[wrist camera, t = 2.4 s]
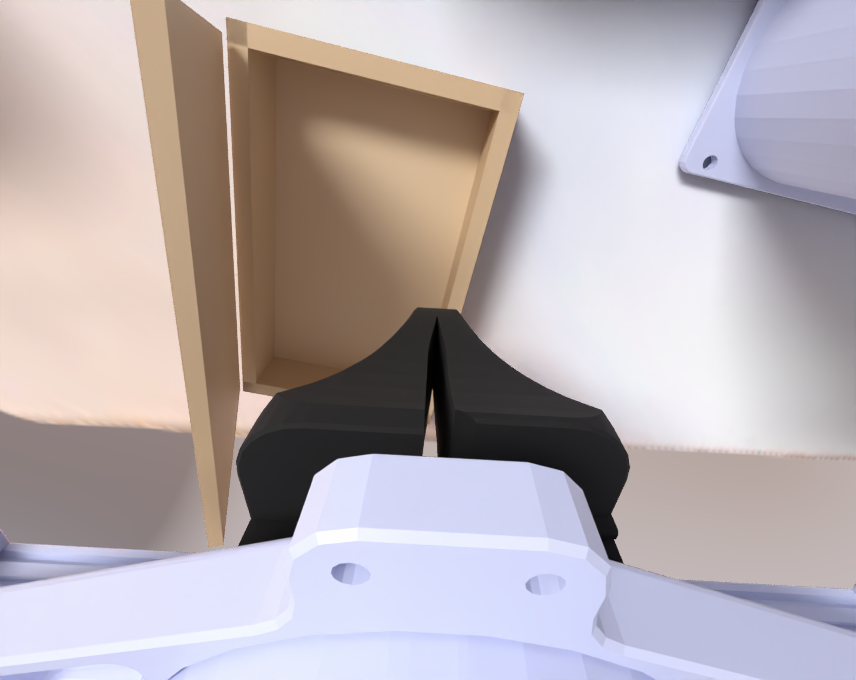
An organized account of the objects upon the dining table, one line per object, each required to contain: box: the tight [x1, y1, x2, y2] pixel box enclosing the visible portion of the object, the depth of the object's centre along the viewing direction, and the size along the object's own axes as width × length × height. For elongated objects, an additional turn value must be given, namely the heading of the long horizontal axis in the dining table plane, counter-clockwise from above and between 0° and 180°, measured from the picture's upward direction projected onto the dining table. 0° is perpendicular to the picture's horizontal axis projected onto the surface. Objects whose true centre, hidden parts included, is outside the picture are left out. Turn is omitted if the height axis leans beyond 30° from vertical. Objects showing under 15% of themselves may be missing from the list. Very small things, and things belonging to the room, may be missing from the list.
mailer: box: [226, 17, 524, 424], centre depth 16 cm, size 9×14×3 cm, turn 168°
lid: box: [130, 0, 240, 547], centre depth 11 cm, size 8×13×1 cm
